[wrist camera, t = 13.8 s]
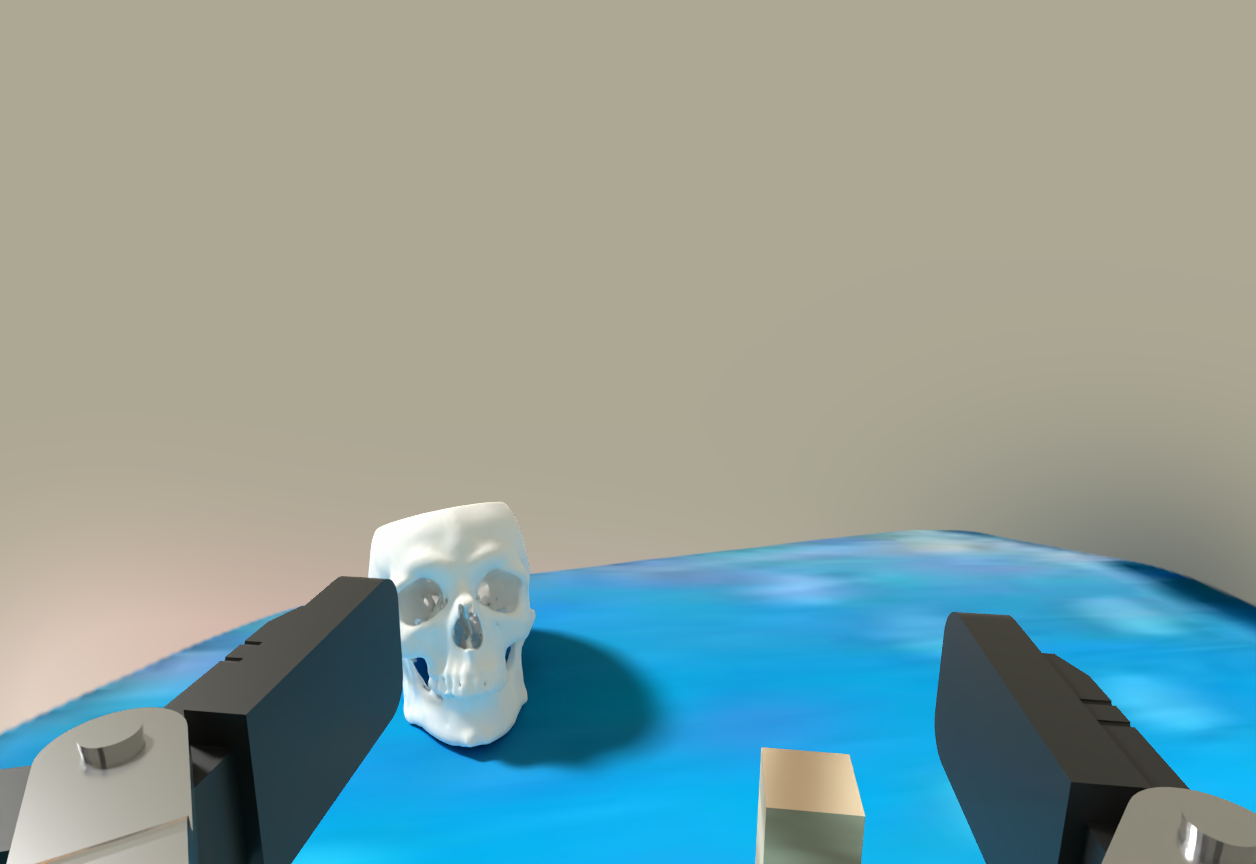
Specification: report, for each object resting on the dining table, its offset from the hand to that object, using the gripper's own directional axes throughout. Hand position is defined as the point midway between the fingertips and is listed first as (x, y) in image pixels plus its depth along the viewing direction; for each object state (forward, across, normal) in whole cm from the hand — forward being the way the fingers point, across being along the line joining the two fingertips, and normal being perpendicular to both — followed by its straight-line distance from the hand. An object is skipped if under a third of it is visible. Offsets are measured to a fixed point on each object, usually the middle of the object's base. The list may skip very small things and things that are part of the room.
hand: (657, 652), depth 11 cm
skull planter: (+47, +20, +30) cm, 60 cm away
